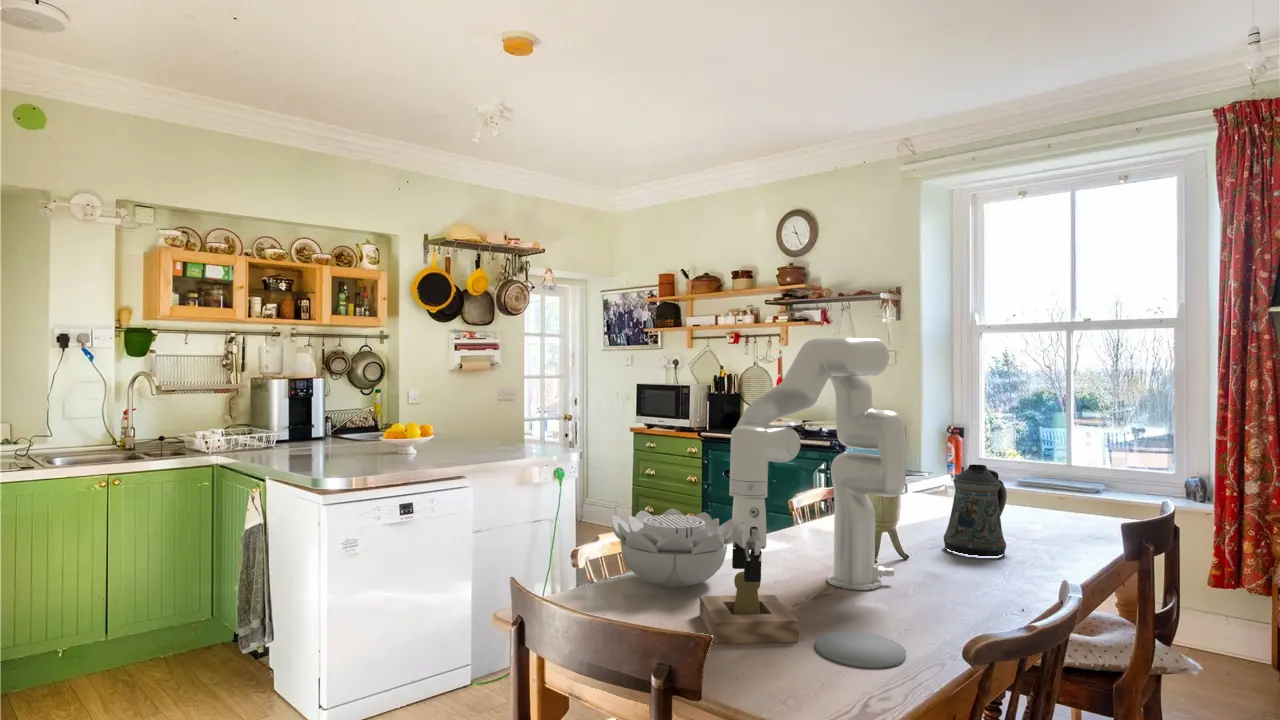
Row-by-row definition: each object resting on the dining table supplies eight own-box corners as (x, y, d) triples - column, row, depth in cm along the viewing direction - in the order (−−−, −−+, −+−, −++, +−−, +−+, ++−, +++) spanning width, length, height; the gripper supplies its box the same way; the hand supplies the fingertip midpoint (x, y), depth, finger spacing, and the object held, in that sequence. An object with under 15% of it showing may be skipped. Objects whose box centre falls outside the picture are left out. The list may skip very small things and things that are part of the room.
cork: (761, 634, 144) (762, 577, 144) (730, 631, 145) (731, 575, 145) (762, 624, 150) (763, 569, 150) (732, 621, 151) (733, 567, 151)
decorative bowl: (760, 596, 168) (761, 530, 168) (635, 606, 159) (636, 536, 160) (710, 562, 197) (711, 506, 197) (602, 569, 188) (603, 510, 189)
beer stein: (937, 553, 211) (938, 465, 212) (952, 540, 227) (953, 459, 228) (1001, 562, 202) (1002, 471, 202) (1012, 549, 218) (1013, 464, 218)
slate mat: (882, 634, 145) (882, 630, 145) (922, 667, 129) (922, 662, 129) (803, 635, 143) (803, 631, 143) (833, 669, 127) (833, 664, 127)
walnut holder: (774, 613, 156) (774, 594, 156) (798, 641, 140) (798, 620, 140) (699, 615, 154) (699, 596, 154) (715, 643, 138) (715, 622, 138)
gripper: (779, 495, 139) (777, 587, 139) (755, 482, 156) (753, 564, 156) (740, 495, 138) (737, 587, 138) (720, 482, 156) (718, 563, 155)
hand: (745, 574), depth 147 cm, fingers open, 9 cm apart
